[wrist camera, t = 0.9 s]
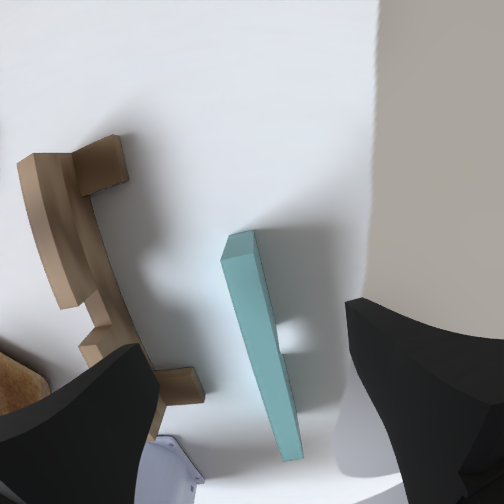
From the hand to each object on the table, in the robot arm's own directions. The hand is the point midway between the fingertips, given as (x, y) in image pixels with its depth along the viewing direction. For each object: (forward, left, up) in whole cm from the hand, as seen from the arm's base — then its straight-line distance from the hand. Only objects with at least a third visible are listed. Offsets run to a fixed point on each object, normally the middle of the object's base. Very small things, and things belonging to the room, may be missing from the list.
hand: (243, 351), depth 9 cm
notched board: (0, +10, -9) cm, 14 cm away
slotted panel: (-6, 0, -9) cm, 11 cm away
